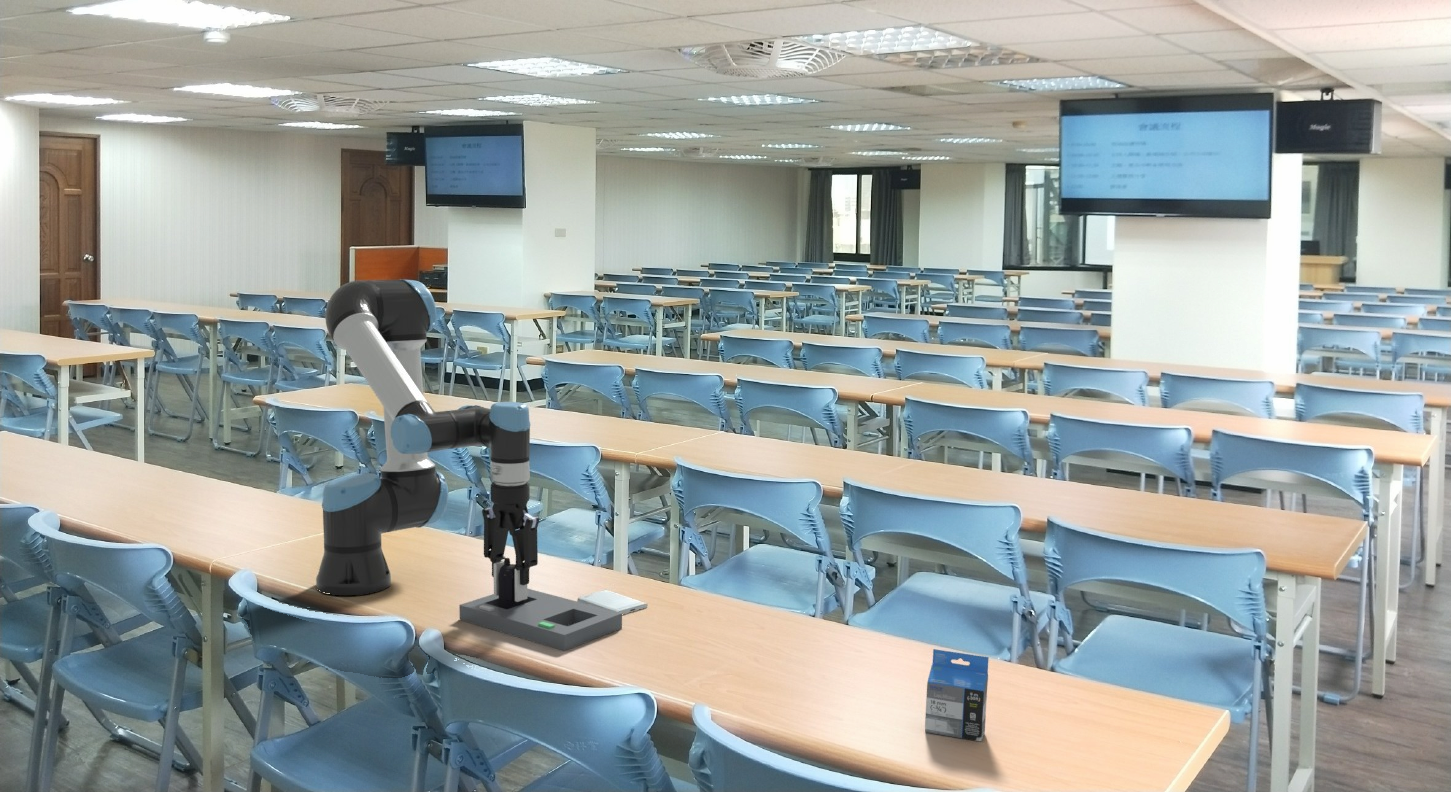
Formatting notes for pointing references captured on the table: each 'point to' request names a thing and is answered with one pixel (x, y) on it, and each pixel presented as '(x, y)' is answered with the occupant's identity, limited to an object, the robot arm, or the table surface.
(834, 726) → the table surface
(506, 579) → the two-way radio
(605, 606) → the hard drive
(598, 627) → the charging base
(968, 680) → the label tape cartridge
